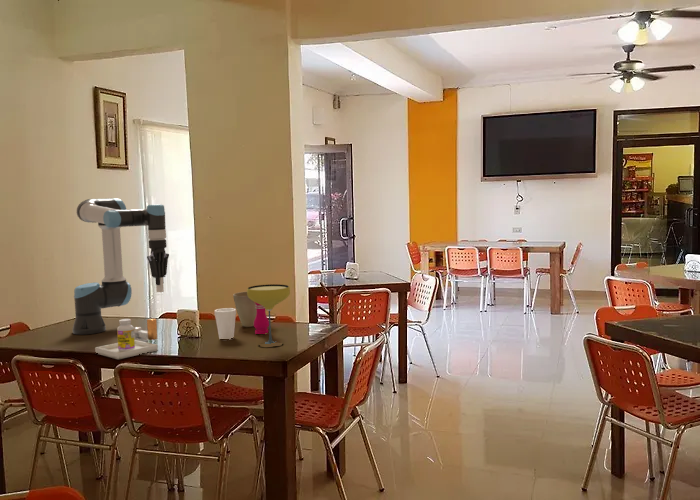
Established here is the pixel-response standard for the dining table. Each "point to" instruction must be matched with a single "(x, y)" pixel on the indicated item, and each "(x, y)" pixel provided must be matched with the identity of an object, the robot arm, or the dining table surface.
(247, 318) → the plant pot
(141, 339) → the crank base
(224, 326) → the foam cup
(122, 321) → the supplement bottle
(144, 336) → the crank lever
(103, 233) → the robot arm
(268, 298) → the cocktail glass
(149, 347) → the tray
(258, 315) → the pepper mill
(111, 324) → the dining table surface
